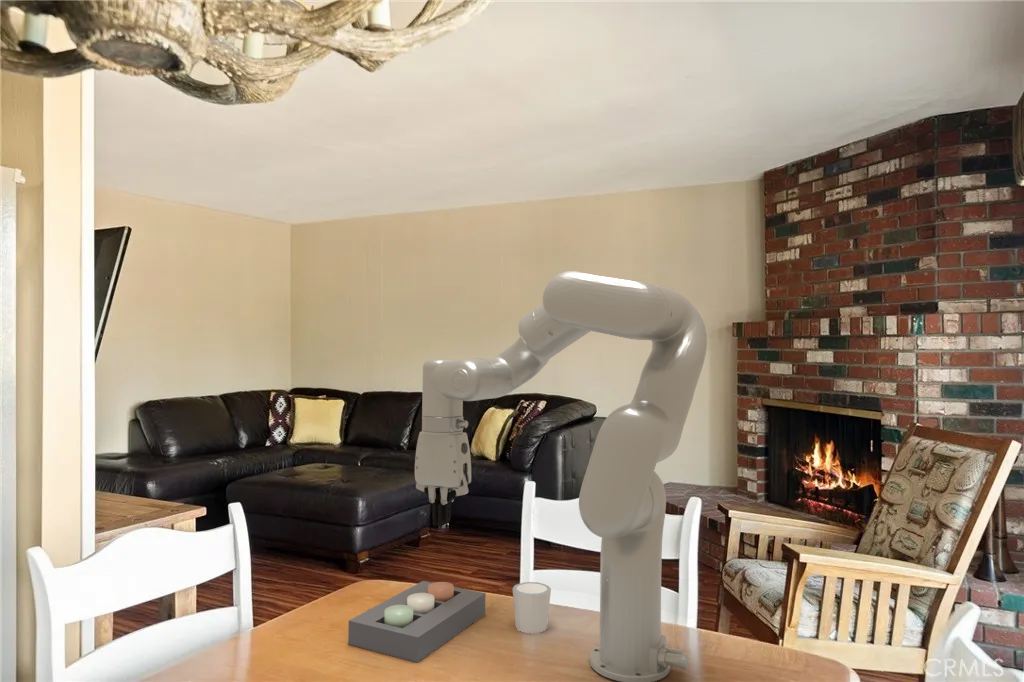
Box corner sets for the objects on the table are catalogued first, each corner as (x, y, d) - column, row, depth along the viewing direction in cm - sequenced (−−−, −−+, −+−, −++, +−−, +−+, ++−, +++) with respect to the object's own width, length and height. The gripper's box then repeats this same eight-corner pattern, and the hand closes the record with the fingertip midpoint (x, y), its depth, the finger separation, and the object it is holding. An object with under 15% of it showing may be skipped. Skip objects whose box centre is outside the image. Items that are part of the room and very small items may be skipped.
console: (485, 614, 128) (485, 593, 128) (417, 662, 108) (417, 637, 109) (422, 601, 134) (423, 580, 134) (348, 644, 115) (348, 620, 115)
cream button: (439, 612, 123) (439, 595, 123) (424, 622, 118) (424, 604, 118) (417, 607, 125) (417, 591, 125) (401, 616, 120) (401, 599, 120)
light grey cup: (551, 635, 119) (551, 595, 119) (511, 634, 119) (512, 594, 119) (549, 619, 126) (550, 581, 126) (512, 619, 126) (512, 581, 126)
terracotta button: (458, 600, 128) (458, 584, 128) (444, 609, 124) (444, 592, 124) (436, 596, 131) (437, 580, 131) (422, 604, 126) (422, 588, 126)
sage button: (418, 625, 117) (418, 607, 117) (401, 636, 112) (402, 617, 112) (395, 620, 119) (395, 602, 119) (378, 630, 115) (378, 612, 115)
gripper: (487, 425, 127) (486, 524, 127) (420, 420, 134) (419, 514, 134) (467, 430, 121) (465, 534, 121) (397, 424, 128) (396, 523, 127)
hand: (441, 523), depth 127 cm, fingers closed
